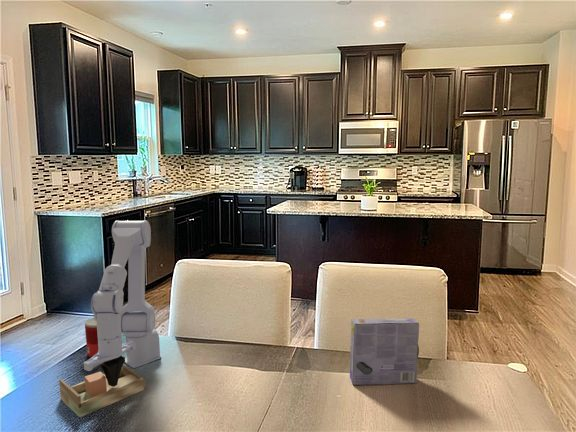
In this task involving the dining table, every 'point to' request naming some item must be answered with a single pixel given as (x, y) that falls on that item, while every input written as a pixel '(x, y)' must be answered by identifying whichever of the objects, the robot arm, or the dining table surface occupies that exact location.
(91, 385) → the block
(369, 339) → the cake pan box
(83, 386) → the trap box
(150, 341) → the robot arm
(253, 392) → the dining table surface
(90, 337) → the canned food
